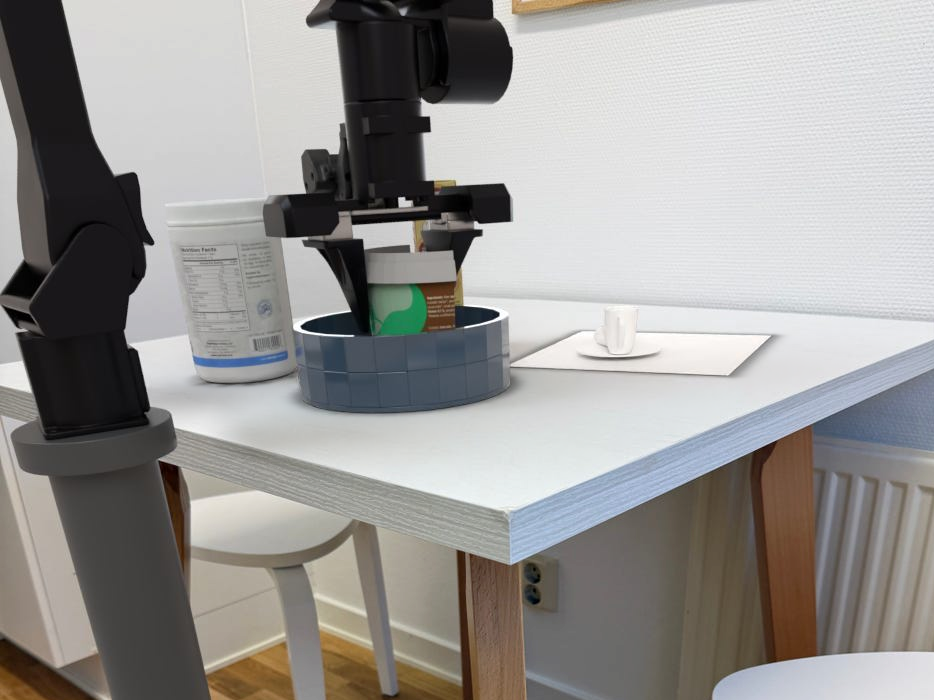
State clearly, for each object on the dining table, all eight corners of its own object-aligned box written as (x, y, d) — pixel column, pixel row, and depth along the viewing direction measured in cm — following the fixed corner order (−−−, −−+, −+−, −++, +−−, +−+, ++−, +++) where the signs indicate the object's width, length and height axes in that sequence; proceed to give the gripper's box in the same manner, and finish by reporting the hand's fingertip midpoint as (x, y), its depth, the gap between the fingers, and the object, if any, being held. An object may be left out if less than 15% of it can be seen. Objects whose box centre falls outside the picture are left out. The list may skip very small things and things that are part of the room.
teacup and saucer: (595, 344, 88) (596, 300, 86) (674, 346, 84) (676, 301, 83) (563, 360, 81) (563, 313, 79) (647, 363, 78) (649, 314, 76)
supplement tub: (218, 366, 87) (188, 201, 80) (311, 363, 86) (289, 195, 79) (180, 387, 79) (142, 204, 72) (282, 384, 78) (254, 198, 71)
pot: (347, 424, 63) (337, 345, 60) (274, 386, 77) (264, 320, 74) (550, 389, 70) (549, 317, 68) (451, 360, 84) (447, 299, 81)
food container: (350, 373, 77) (336, 249, 73) (417, 365, 79) (407, 244, 74) (387, 399, 67) (373, 256, 62) (462, 389, 69) (455, 250, 64)
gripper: (446, 112, 74) (457, 308, 81) (227, 115, 67) (260, 331, 74) (514, 99, 65) (519, 319, 73) (270, 100, 58) (303, 347, 65)
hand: (401, 328), depth 71 cm, fingers closed on food container, 6 cm apart
